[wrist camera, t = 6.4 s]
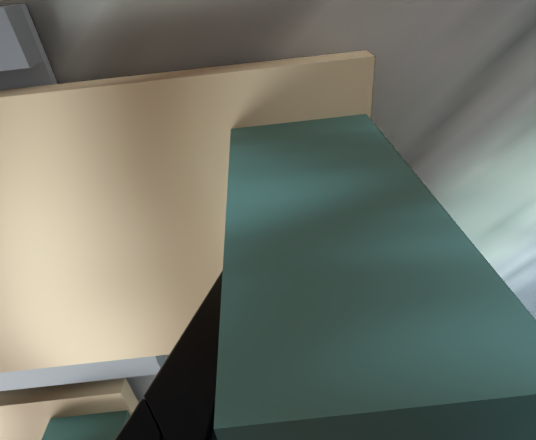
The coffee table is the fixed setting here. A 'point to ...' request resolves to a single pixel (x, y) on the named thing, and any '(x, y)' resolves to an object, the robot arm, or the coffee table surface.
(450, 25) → the coffee table surface
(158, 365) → the lane board
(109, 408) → the broken strip
